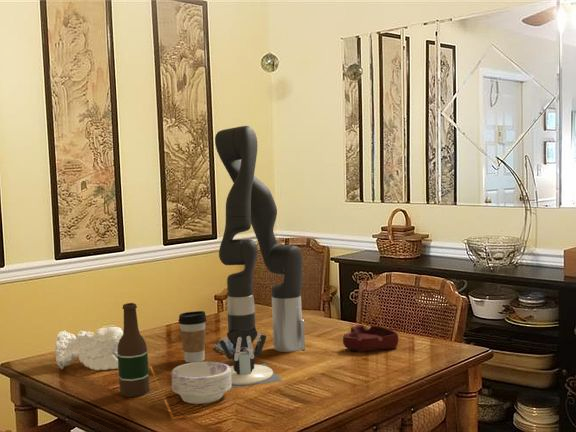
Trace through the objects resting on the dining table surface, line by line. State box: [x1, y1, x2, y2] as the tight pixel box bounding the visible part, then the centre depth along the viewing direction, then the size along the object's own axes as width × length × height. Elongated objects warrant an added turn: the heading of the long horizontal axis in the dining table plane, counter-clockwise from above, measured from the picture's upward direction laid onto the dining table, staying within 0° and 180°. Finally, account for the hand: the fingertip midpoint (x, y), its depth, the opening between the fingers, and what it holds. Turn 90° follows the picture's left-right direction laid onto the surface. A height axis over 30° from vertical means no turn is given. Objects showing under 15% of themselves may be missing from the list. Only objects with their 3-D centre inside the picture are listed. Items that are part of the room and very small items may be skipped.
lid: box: [229, 352, 274, 386], centre depth 197 cm, size 16×16×6 cm
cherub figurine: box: [54, 326, 123, 371], centre depth 215 cm, size 13×12×20 cm
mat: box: [230, 363, 283, 389], centre depth 197 cm, size 17×17×1 cm
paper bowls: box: [171, 361, 232, 405], centre depth 181 cm, size 15×15×8 cm
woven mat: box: [212, 340, 255, 355], centre depth 227 cm, size 10×11×2 cm
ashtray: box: [342, 324, 399, 353], centre depth 223 cm, size 18×16×5 cm
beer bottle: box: [117, 302, 150, 398], centre depth 187 cm, size 8×8×24 cm
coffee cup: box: [178, 310, 207, 363], centre depth 214 cm, size 8×8×15 cm
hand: (243, 371), depth 197 cm, fingers closed on lid, 3 cm apart
